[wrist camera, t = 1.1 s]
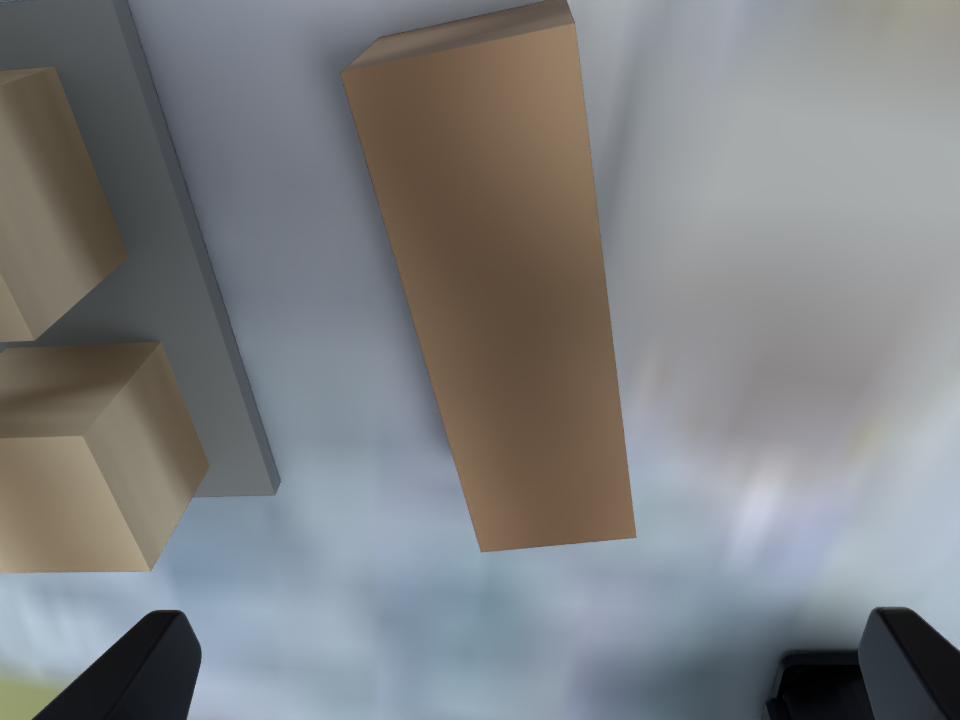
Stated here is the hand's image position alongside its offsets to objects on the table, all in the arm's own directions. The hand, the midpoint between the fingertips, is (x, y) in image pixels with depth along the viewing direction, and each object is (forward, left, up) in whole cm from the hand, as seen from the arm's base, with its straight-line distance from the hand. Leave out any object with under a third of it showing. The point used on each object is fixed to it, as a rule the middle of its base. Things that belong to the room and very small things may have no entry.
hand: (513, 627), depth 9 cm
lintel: (0, 0, -11) cm, 11 cm away
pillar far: (+12, +3, -10) cm, 16 cm away
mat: (+12, 0, -10) cm, 16 cm away
